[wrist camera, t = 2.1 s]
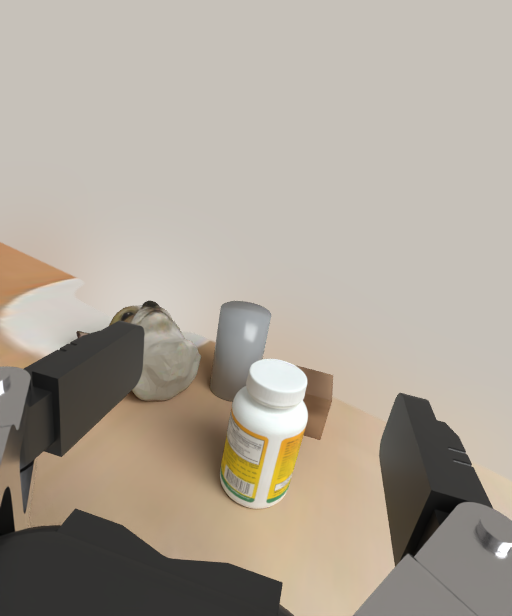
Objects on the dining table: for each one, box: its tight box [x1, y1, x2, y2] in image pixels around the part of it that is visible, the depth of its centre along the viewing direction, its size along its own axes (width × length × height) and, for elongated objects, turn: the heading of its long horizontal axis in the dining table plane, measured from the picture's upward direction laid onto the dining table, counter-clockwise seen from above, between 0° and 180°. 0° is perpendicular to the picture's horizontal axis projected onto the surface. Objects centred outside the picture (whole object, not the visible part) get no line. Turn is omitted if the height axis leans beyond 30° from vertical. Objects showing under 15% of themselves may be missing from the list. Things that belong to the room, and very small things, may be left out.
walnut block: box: [295, 365, 333, 440], centre depth 34 cm, size 4×4×4 cm
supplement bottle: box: [220, 359, 308, 509], centre depth 25 cm, size 5×5×10 cm
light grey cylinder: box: [210, 301, 271, 402], centre depth 36 cm, size 5×5×9 cm
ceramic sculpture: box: [77, 301, 201, 401], centre depth 36 cm, size 11×9×15 cm
